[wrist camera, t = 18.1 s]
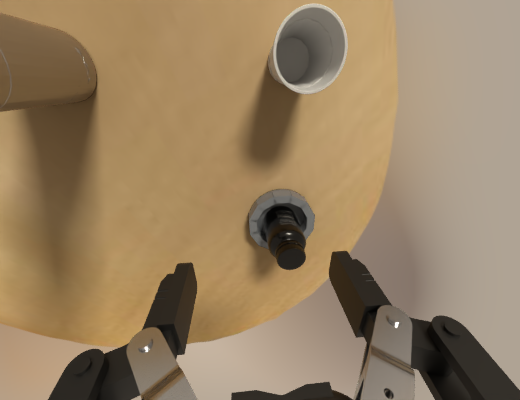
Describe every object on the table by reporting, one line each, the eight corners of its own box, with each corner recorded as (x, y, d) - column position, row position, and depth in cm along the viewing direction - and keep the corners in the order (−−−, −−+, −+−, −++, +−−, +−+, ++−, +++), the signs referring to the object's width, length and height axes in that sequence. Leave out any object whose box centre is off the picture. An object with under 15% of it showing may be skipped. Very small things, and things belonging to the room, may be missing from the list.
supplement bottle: (256, 221, 47) (261, 263, 36) (278, 198, 44) (290, 235, 34) (281, 237, 49) (292, 280, 39) (302, 215, 47) (320, 255, 36)
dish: (250, 243, 50) (251, 252, 47) (247, 191, 44) (247, 198, 41) (307, 239, 51) (311, 248, 48) (312, 187, 45) (317, 193, 42)
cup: (318, 79, 36) (352, 79, 25) (271, 97, 36) (284, 104, 26) (307, 19, 32) (341, -11, 21) (255, 41, 33) (262, 22, 22)
